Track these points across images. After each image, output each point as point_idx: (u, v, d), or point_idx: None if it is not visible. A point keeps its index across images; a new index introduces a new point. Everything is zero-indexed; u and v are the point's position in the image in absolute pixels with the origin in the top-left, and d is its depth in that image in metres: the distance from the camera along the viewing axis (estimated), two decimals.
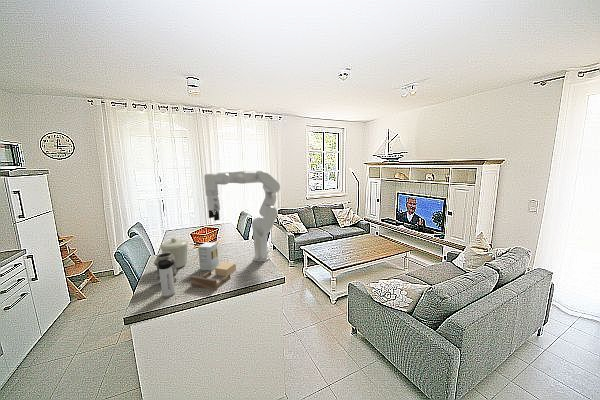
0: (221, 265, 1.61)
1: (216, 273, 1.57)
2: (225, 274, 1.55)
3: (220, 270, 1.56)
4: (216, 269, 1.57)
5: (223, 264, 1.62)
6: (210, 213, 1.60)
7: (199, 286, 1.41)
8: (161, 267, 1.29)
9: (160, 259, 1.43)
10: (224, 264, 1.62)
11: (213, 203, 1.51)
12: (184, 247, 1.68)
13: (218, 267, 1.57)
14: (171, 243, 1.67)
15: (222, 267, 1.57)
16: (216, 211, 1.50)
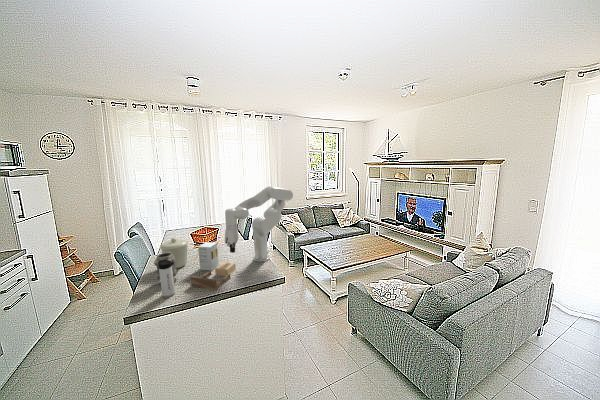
0: (221, 265, 1.61)
1: (216, 273, 1.57)
2: (226, 274, 1.55)
3: (221, 270, 1.55)
4: (216, 269, 1.56)
5: (223, 264, 1.62)
6: None
7: (199, 286, 1.41)
8: (161, 267, 1.29)
9: (160, 259, 1.43)
10: (224, 264, 1.62)
11: None
12: (184, 247, 1.68)
13: (218, 267, 1.57)
14: (171, 243, 1.67)
15: (222, 267, 1.57)
16: (235, 242, 1.70)
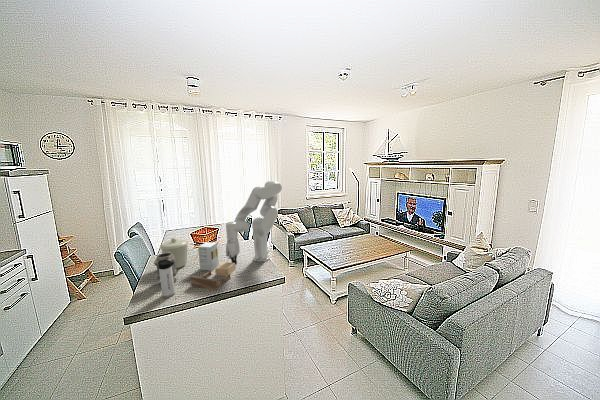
0: (221, 265, 1.61)
1: (217, 273, 1.56)
2: (226, 274, 1.55)
3: (221, 270, 1.55)
4: (217, 269, 1.56)
5: (222, 264, 1.62)
6: None
7: (199, 286, 1.41)
8: (161, 267, 1.29)
9: (160, 259, 1.43)
10: (223, 264, 1.62)
11: None
12: (184, 247, 1.68)
13: (218, 267, 1.57)
14: (171, 243, 1.67)
15: (223, 267, 1.57)
16: (237, 254, 1.71)
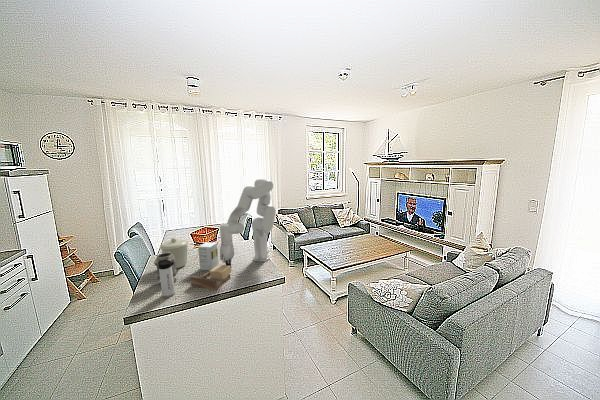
0: (216, 267, 1.57)
1: (211, 276, 1.53)
2: (220, 277, 1.51)
3: (215, 273, 1.52)
4: (211, 272, 1.53)
5: (218, 267, 1.58)
6: None
7: (199, 286, 1.41)
8: (161, 267, 1.29)
9: (160, 259, 1.43)
10: (219, 267, 1.58)
11: None
12: (184, 247, 1.68)
13: (213, 270, 1.54)
14: (171, 243, 1.67)
15: (217, 270, 1.54)
16: (231, 257, 1.65)
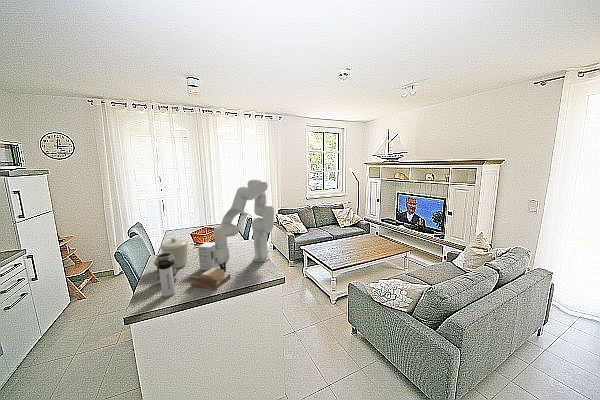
0: (209, 270, 1.53)
1: None
2: None
3: (206, 276, 1.47)
4: (203, 275, 1.49)
5: (211, 270, 1.54)
6: None
7: (199, 286, 1.41)
8: (161, 267, 1.29)
9: (160, 259, 1.43)
10: (212, 270, 1.54)
11: None
12: (184, 247, 1.68)
13: (205, 273, 1.49)
14: (171, 243, 1.67)
15: (209, 273, 1.49)
16: (226, 261, 1.60)
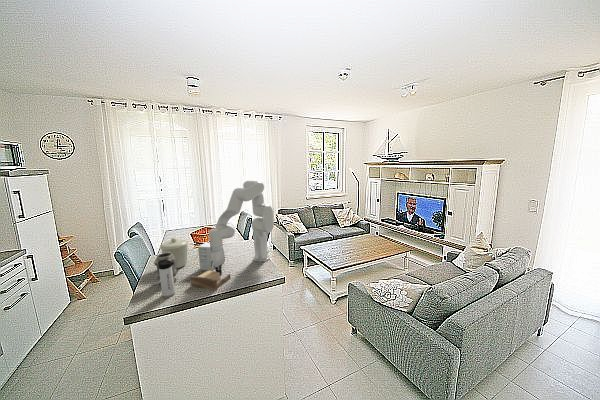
0: (204, 273, 1.49)
1: None
2: None
3: None
4: None
5: (206, 273, 1.50)
6: None
7: (199, 286, 1.41)
8: (161, 267, 1.29)
9: (160, 259, 1.43)
10: (207, 273, 1.50)
11: None
12: (184, 247, 1.68)
13: (200, 276, 1.45)
14: (171, 243, 1.67)
15: (204, 276, 1.45)
16: (222, 264, 1.56)
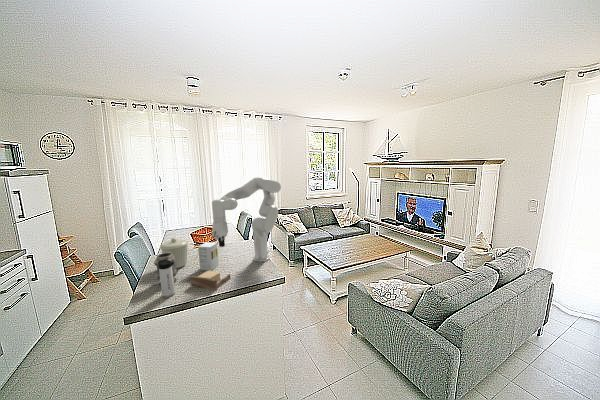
0: (204, 274, 1.49)
1: None
2: None
3: None
4: None
5: (206, 273, 1.50)
6: None
7: (199, 286, 1.41)
8: (161, 267, 1.29)
9: (160, 259, 1.43)
10: (207, 273, 1.49)
11: None
12: (184, 247, 1.68)
13: (200, 276, 1.45)
14: (171, 243, 1.67)
15: (204, 277, 1.45)
16: (225, 235, 1.58)
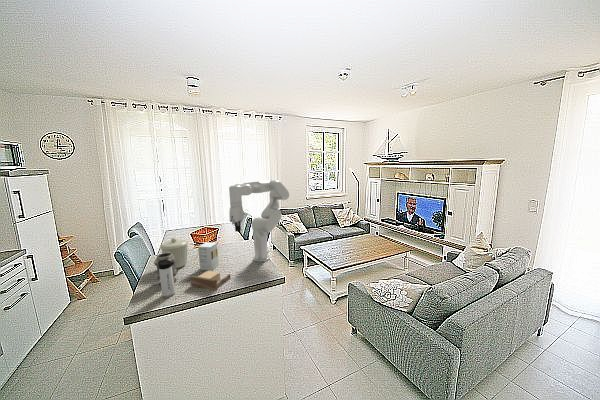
0: (204, 274, 1.49)
1: None
2: None
3: None
4: None
5: (206, 273, 1.50)
6: None
7: (199, 286, 1.41)
8: (161, 267, 1.29)
9: (160, 259, 1.43)
10: (207, 273, 1.49)
11: None
12: (184, 247, 1.68)
13: (200, 276, 1.45)
14: (171, 243, 1.67)
15: (204, 277, 1.45)
16: (241, 221, 1.62)
